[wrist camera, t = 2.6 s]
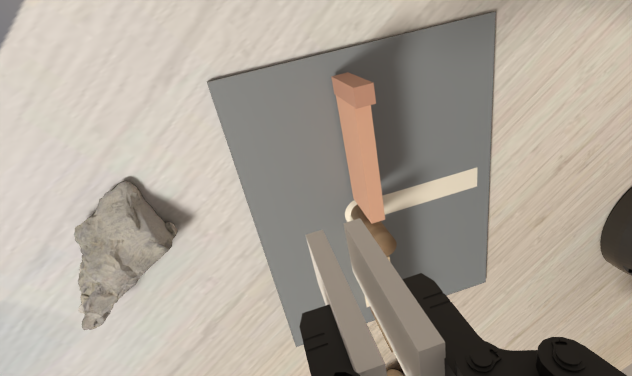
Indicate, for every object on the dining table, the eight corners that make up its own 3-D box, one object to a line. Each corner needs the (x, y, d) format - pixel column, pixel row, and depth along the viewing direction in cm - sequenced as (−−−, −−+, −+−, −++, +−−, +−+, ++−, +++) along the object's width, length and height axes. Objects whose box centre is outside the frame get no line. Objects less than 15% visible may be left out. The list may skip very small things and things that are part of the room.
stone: (37, 274, 30) (11, 310, 27) (118, 173, 28) (102, 197, 24) (109, 303, 33) (95, 340, 30) (189, 214, 31) (184, 242, 27)
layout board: (492, 12, 29) (495, 11, 29) (483, 279, 43) (485, 282, 43) (207, 81, 26) (206, 82, 26) (295, 344, 40) (296, 346, 40)
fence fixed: (349, 206, 34) (372, 241, 28) (369, 200, 34) (395, 233, 28) (368, 311, 40) (390, 355, 35) (384, 305, 40) (408, 348, 35)
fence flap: (366, 194, 33) (390, 224, 28) (352, 199, 33) (374, 229, 28) (348, 72, 28) (373, 82, 23) (331, 76, 27) (353, 87, 23)
